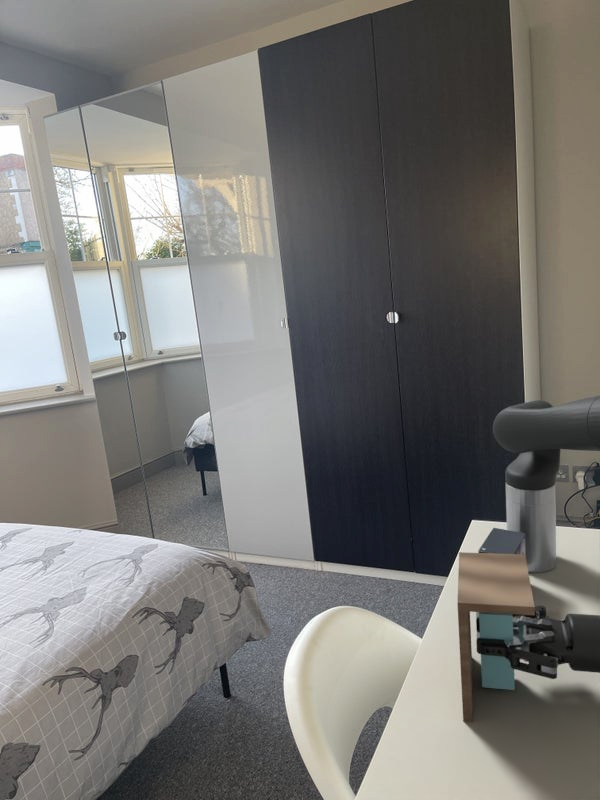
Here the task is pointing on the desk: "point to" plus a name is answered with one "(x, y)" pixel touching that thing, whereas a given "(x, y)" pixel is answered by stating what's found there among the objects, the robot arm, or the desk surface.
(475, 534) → the desk surface
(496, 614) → the teal block
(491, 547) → the small box
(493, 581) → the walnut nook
